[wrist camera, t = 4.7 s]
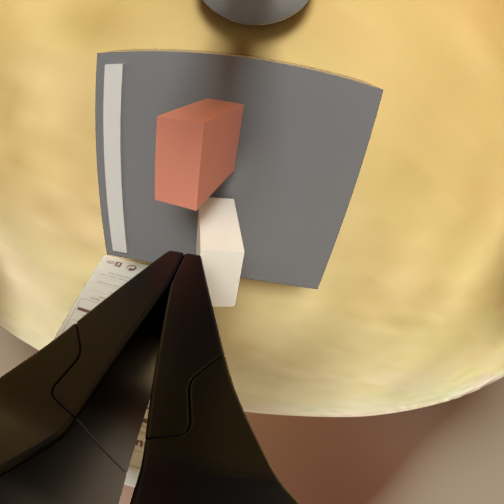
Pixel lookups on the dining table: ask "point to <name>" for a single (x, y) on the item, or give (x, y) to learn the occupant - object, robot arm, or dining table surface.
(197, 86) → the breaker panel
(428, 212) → the dining table surface
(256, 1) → the stand
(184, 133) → the terracotta brick
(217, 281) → the cream flat brick
